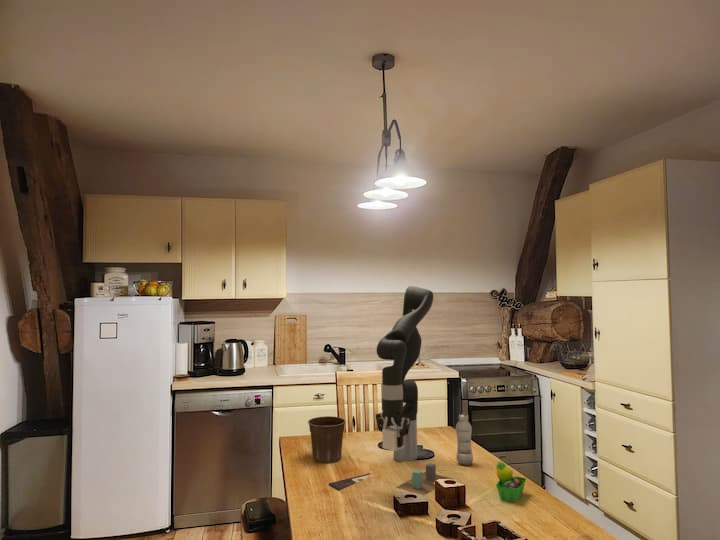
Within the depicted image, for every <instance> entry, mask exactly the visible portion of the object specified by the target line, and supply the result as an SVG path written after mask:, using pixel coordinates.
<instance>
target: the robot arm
mask: <svg viewBox="0 0 720 540" xmlns="http://www.w3.org/2000/svg"><path fill="white" fill-rule="evenodd" d="M433 293H434V292H433V291H431V290H429V289H427V288H422V287H418V286H414V285H410V286H409V285H408V286H407V288H406V289H405V292H404V297H403V307H402V316H401V317H400V318H398V320H397V321H396V322H395V323H394V325H393V327H392V329H391V330H390V331H389V332H387V334H386V335H384V336H383V337H382V338H381V339H380V340H379V341H378V343H377V346H376V355H377V356H378V358H379V359H382V360H386V361H387V360H388V361H393V364H392V365H389V366H385V367H383V368H382V370H381V371H382V372H381V374H382V375H381V383H382V384H381V410H382V412H379V413H376V414H375V419H376V424H377V425H376V426H377V430H378V432H381V433H382V429H386V428H389V427H391V426H392V427H394V429H395V431H397V436H398V437H397V447H398V448H400V447H402V446H403V448H401V449H399V450H396V451H393V460H395V461H397V462H398V463H403V462H406V461H407V462H409V461H410V462H411V461H415V460H417V459H418V423H417V422H418V421H417V420H418V419H417V418H418V417H417V416H418V411H419V410H418V406H419V405H418V404H419V403H418V402H419V401H418V400H419V388H418V385H417V382H416V381H415V380H412V379H406V375H407V374H408V373H409V371H410V370H411V368H412V367H413V366H414V365H415V363H417V361H418V360H419V357H420V354H421V348H422V337H421V334H420V331H419V329H418V328H417V326H418V324H419V323H420V322H421V321H422V320H423V319H424V318H425V316H426V315H427V314H428V313H429V311H430V310H431V308H432V305H433V302H434V294H433ZM399 430H400V431H399Z"/></svg>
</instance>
